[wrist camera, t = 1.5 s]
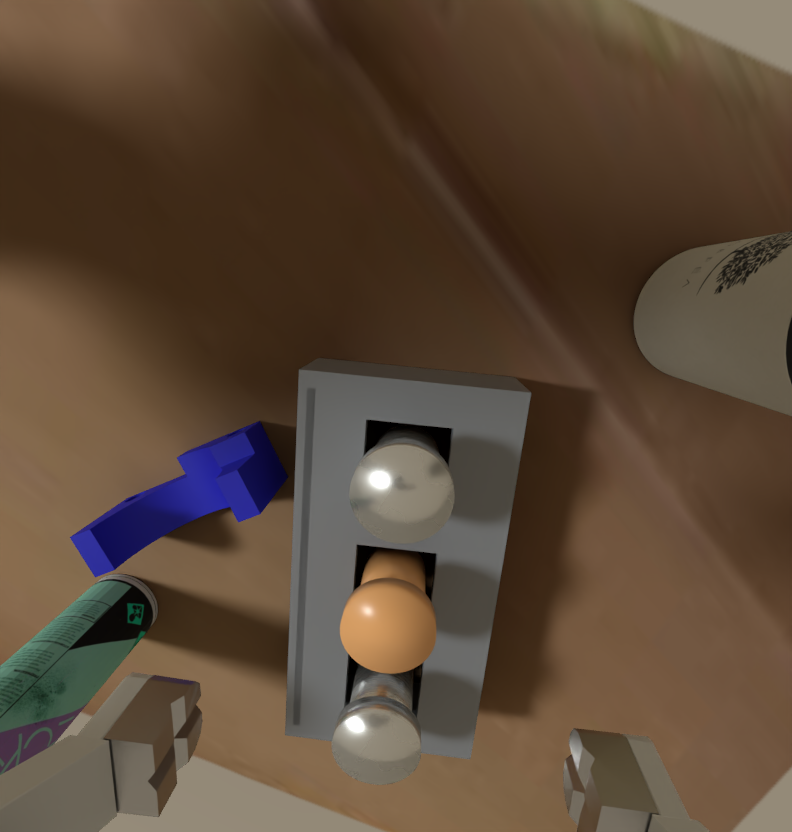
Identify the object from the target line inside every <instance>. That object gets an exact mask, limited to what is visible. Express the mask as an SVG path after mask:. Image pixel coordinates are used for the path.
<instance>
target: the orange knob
mask: <svg viewBox="0 0 792 832" xmlns="http://www.w3.org/2000/svg"><path fill="white" fill-rule="evenodd" d="M340 636H341V641H342V644H343V646H344V648H345V650H346V651H347V653H348V654H349V655H350V656H351V657H352V658H353V659H354V660H355V661H356V662H357V663H359V664H360V665H362V666H363V667H365V668H367V669H370V670H372V671H376V672H380V673H388V674H394V673H402V672H406V671H409V670H411V669H414V668H416V667H417V666H419V665H420V664H422V663H423V662H424V661H425V660H426V659H427V658H428V657H429V655H430V654H431V652H432V651H433V648H434V646H435V642H436V614H435V610H434V607H433V604H432V602H431V601H430V599H429V598H428V596H427V595H426V594H425V564H424V561H423V559H422V557H421V556H420V555H419V553H418V552H417V551H410V550H401V549H393V548H384V547H377V548H376V549H374V550H373V551H372V552H371V553H370V555H369V556H368V558H367V560H366V564H365V568H364V572H363V577H362V581H361V585H360V586H359V587H358V588H356V589H355V590H354V591H353V592H352V593H351V595H350V596H349V598H348V600H347V602H346V604H345V608H344V611H343V615H342V619H341V623H340Z"/></svg>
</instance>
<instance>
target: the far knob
mask: <svg viewBox="0 0 792 832" xmlns="http://www.w3.org/2000/svg"><path fill="white" fill-rule="evenodd" d="M412 696H413V669H411V670H409V671H406V672H402V673H394V674H388V673H380V672H376V671H372V670H370V669H367V668H365V667H363V666H362V665H360V664H359V663H357V668H356V673H355V678H354V684H353V689H352V694H351V700H350V703H349V704H348V705H347V706H345V707H344V708H343V710H342V711H341V712H340V714H339V716H338V718H337V721H336V725H335V730H334V735H333V739H332V753H333V756H334V759H335V760H336V762H337V764H338V765H339V767H340V768H341V769H342V770H343V771H344V772H345V773H347V774H348V775H349V776H351V777H353V778H355V779H356V780H359V781H361V782H365V783H369V784H376V785H384V784H391V783H395V782H398V781H401V780H403V779H405V778H406V777H408V776H409V775H410V774H411V773H412V772H413V771H414V770H415V769H416V767H417V765H418V763H419V761H420V757H421V727H420V724H419V721H418V719H417V718H416V716H415V714H414V713H413V712H412Z"/></svg>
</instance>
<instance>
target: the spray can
mask: <svg viewBox="0 0 792 832" xmlns="http://www.w3.org/2000/svg"><path fill="white" fill-rule="evenodd" d="M157 613H158V605H157V601H156V598H155V596H154V594H153V593H152V591H151V590H150V589H149V588H148V587H147V586H146V585H145V584H144V583H143V582H141V581H140V580H138V579H136V578H134V577H132V576H128V575H124V574H112V575H108V576H106V577H104V578H102V579H100V580H99V581H98V582H96V583H95V584H94V585H93V586H92V587H91V588H89V589H88V590H87V591H86V592H85V593H84V594H83V595H81V596H80V597H79V598H78V599H77V600H76V601H75V602H73V603H72V604H71V605H70V606H69V607H68V608H67V609H65V610H64V611H63V612H62V613H61V614H60V615H58V616H57V617H56V618H55V619H54V620H53V621H52V622H50V623H49V624H48V625H47V626H46V627H45V628H44V629H42V630H41V631H40V632H39V633H38V634H37V635H36V636H34V637H33V638H32V639H31V640H30V641H29V642H28V643H26V644H25V645H24V646H23V647H22V648H21V649H20V650H18V651H17V652H16V653H15V654H14V655H13V656H11V657H10V658H9V659H8V660H7V661H6V662H5V663H3V664H2V665H1V666H0V775H2V774H3V773H5V772H7V771H9V770H10V769H12V768H14V767H16V766H17V765H19V764H21V763H22V762H24V761H26V760H28V759H29V758H31V757H33V756H35V755H36V754H38V753H40V752H42V751H43V750H45V749H47V748H49V747H50V746H52V745H53V744H54V743H55V742H56V741H57V740H58V738H59V737H60V736H61V735H62V734H63V732H64V731H65V730H66V729H67V728H68V726H69V725H70V724H71V723H72V722H73V720H74V719H75V718H76V717H77V715H78V714H79V713H80V712H81V711H82V709H83V708H84V707H85V706H86V705H87V703H88V702H89V701H90V700H91V699H92V697H93V696H94V695H95V694H96V693H97V691H98V690H99V689H100V688H101V687H102V685H103V684H104V683H105V682H106V681H107V679H108V678H109V677H110V676H111V674H112V673H113V672H114V671H115V670H116V668H117V667H118V666H119V665H120V664H121V662H122V661H123V660H124V659H125V658H126V656H127V655H128V654H129V653H130V652H131V650H132V649H133V648H134V647H135V646H136V644H137V643H138V642H139V641H140V640H141V638H142V637H143V636H144V635H145V633H146V632H147V631H148V630H149V629H150V627H151V626H152V624H153V623H154V622H155V620H156V618H157Z"/></svg>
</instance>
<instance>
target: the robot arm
mask: <svg viewBox="0 0 792 832" xmlns="http://www.w3.org/2000/svg"><path fill="white" fill-rule="evenodd" d="M200 696H201V691H200V683H198V682H196V681H189V680H183V679H176V678H170V677H164V676H157V675H148V674H141V673H135V672H133V673H131V674H130V675H128V676H126V677H125V678H124V680H123V681H122V682H121V683H120V684H119V686H118V687H117V688H116V689H115V690H114V692H113V693H112V694H111V695H110V696H109V698H108V699H107V700H106V701H105V702H104V704H103V705H102V706H101V707H100V709H99V710H98V711H97V712H96V713H95V715H94V716H93V717H92V718H91V719H90V721H89V722H88V723H87V724H86V725H85V727H84V728H83V729H82V730H81V731H80V733H79V734H78V735H77V736H72V735H70V736H68V737H66V738H64V739H63V740H61V741H59V742H57V743H56V744H54V745H52V746H50V747H49V748H47V749H45V750H43V751H42V752H40V753H38V754H36V755H35V756H33V757H31V758H29V759H28V760H26V761H24V762H22V763H21V764H19V765H17V766H16V767H14V768H12V769H10V770H9V771H7V772H5V773H3V774H2V775H0V832H99V831H100V830H101V829H102V828H103V827H104V826H105V825H107V824H108V823H109V822H110V821H111V820H112V819H114V818H115V817H116V816H117V813H125V814H134V815H144V816H153V817H159V816H160V814H161V812H162V810H163V808H164V807H165V805H166V803H167V801H168V799H169V797H170V795H171V794H172V792H173V790H174V788H175V786H176V784H177V776H176V771H177V770H179V769H180V768H181V767H183V766H184V765H186V764H187V763H188V762H189V760H190V758H191V756H192V754H193V752H194V750H195V748H196V745H197V742H198V739H199V736H200V733H201V726H202V712H201V711H200V709H199V708H198V707H197V705H196V703H197V702H198V700H199V698H200ZM569 745H570V749H571V752H572V754H571V755H570V756H569V757H568V758H566V759H565V765H564V772H563V781H564V794H565V801H566V805H567V809H568V813H569V816H570V817H571V818H572V819H573V820H574V822H575V823H576V824H577V825H578V828H577V832H710V831H709V830H708V829H707V828H706V827H705V826H703V825H702V824H701V823H700V822H699V821H697V820H691V819H690V818H689V816H688V814H687V811H686V809H685V807H684V805H683V803H682V801H681V799H680V797H679V795H678V793H677V791H676V789H675V787H674V785H673V783H672V781H671V779H670V777H669V775H668V773H667V771H666V769H665V767H664V764H663V762H662V760H661V758H660V756H659V754H658V752H657V750H656V748H655V746H654V744H653V742H652V741H651V740H650V739H649V738H648V737H645V736H637V735H628V734H620V733H612V732H603V731H594V730H585V729H576V728H573V730H572V731H571V734H570V738H569Z"/></svg>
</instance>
